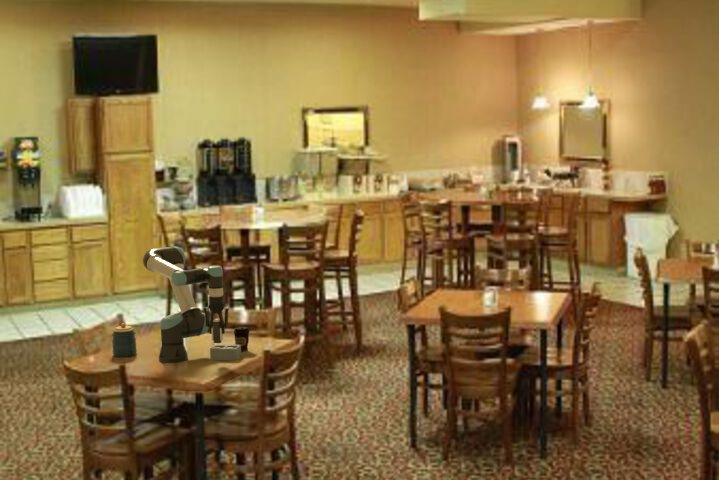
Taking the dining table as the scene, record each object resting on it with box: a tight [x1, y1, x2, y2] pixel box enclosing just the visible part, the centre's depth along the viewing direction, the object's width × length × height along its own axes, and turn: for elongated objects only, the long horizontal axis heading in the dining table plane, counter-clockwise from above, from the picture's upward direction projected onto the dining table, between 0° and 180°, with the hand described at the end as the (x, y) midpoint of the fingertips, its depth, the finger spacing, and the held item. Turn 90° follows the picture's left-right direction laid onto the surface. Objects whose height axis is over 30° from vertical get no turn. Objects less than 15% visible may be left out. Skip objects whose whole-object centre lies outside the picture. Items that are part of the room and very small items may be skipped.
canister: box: [111, 322, 138, 358], centre depth 549 cm, size 13×13×18 cm
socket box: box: [209, 344, 242, 361], centre depth 537 cm, size 14×10×6 cm
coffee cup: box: [233, 326, 250, 353], centre depth 551 cm, size 9×8×13 cm
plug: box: [213, 318, 222, 344], centre depth 525 cm, size 4×4×12 cm
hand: (217, 339), depth 525 cm, fingers closed on plug, 4 cm apart
